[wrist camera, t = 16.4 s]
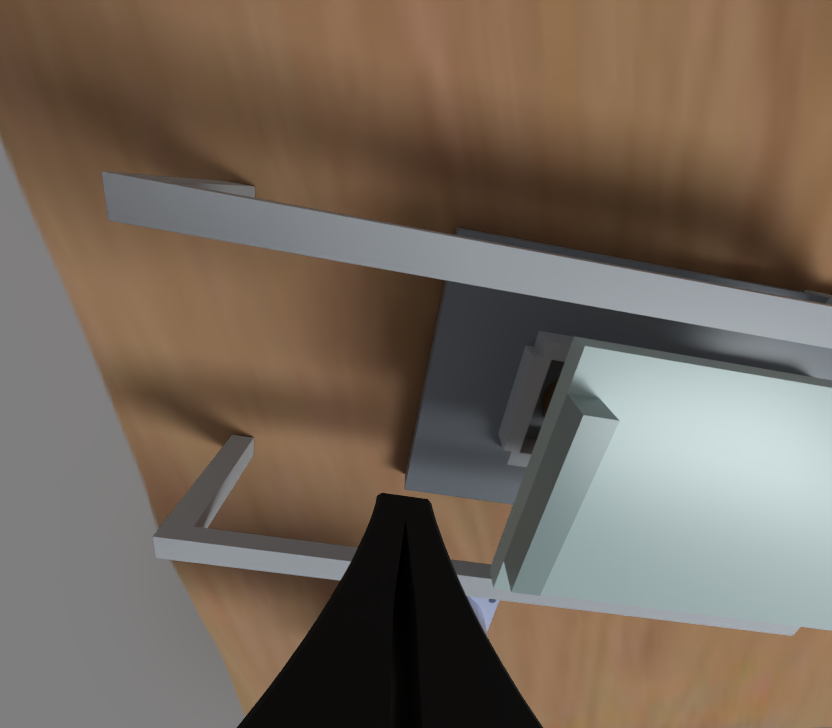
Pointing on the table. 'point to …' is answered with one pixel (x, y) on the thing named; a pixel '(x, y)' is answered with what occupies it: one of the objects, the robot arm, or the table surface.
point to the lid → (678, 489)
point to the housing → (475, 355)
